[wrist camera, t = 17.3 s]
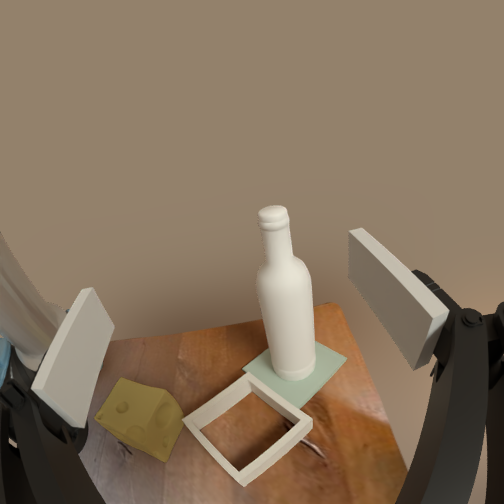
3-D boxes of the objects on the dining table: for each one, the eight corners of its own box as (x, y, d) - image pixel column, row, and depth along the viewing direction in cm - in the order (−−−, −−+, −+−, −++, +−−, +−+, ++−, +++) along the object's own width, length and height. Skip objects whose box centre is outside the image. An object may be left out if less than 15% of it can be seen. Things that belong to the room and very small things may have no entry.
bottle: (309, 385, 42) (295, 223, 28) (267, 378, 45) (228, 224, 31) (320, 351, 48) (310, 197, 34) (281, 346, 51) (254, 199, 37)
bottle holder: (190, 429, 38) (181, 419, 36) (252, 383, 45) (248, 371, 43) (244, 486, 28) (237, 482, 26) (312, 428, 35) (312, 418, 33)
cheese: (167, 464, 32) (137, 443, 27) (120, 442, 35) (89, 417, 30) (190, 417, 40) (168, 388, 35) (144, 402, 44) (118, 372, 39)
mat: (242, 370, 48) (242, 368, 48) (292, 330, 56) (292, 328, 55) (296, 411, 38) (296, 410, 38) (346, 359, 46) (346, 357, 45)
